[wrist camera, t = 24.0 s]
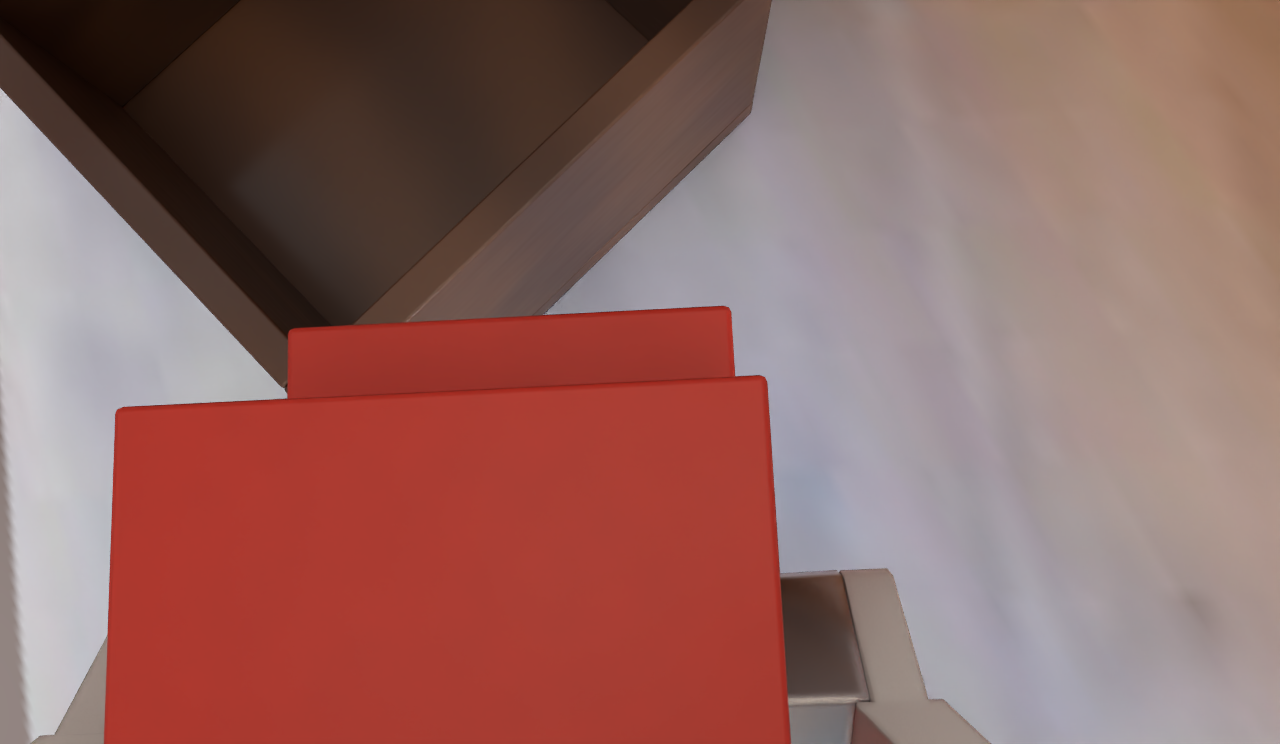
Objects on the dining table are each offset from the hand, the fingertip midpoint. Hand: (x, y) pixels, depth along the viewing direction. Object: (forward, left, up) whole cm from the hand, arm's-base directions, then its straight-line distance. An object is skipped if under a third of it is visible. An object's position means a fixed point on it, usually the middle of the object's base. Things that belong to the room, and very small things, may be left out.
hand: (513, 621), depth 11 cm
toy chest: (-5, -13, -16) cm, 22 cm away
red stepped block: (0, +1, -4) cm, 4 cm away
